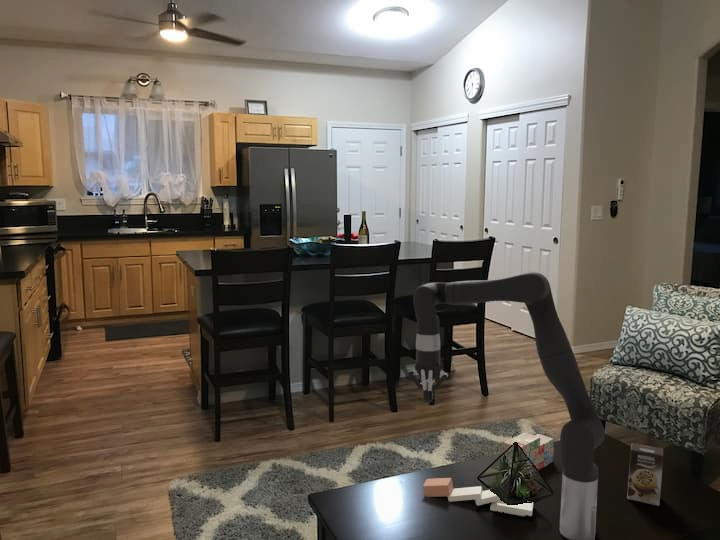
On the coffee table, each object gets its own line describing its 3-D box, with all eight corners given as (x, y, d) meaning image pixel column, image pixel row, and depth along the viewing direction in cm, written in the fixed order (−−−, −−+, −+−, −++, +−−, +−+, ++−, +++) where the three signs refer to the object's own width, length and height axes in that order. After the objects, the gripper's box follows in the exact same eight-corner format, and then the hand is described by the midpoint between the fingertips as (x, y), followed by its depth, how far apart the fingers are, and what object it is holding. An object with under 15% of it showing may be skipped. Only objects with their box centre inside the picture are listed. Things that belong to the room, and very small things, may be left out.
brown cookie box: (626, 499, 180) (629, 449, 178) (628, 490, 186) (631, 441, 184) (659, 506, 176) (663, 455, 174) (660, 497, 181) (663, 447, 179)
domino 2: (450, 493, 183) (482, 491, 180) (448, 501, 178) (481, 498, 175) (449, 489, 183) (481, 486, 180) (447, 496, 178) (480, 493, 175)
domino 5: (498, 501, 177) (533, 507, 174) (496, 509, 173) (531, 516, 169) (499, 496, 177) (533, 502, 174) (496, 504, 172) (532, 510, 169)
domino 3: (474, 498, 180) (505, 490, 180) (477, 505, 175) (509, 497, 175) (472, 493, 180) (504, 485, 180) (475, 500, 175) (508, 492, 175)
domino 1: (429, 489, 185) (453, 488, 182) (425, 496, 181) (449, 496, 178) (427, 478, 185) (451, 477, 182) (422, 486, 181) (447, 485, 178)
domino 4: (492, 505, 178) (525, 511, 175) (489, 513, 173) (524, 519, 170) (492, 500, 178) (526, 506, 175) (490, 508, 173) (525, 514, 170)
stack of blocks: (537, 458, 209) (538, 425, 207) (553, 464, 204) (554, 430, 203) (502, 476, 195) (503, 441, 193) (518, 483, 190) (519, 447, 188)
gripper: (451, 346, 183) (451, 399, 185) (411, 343, 188) (411, 395, 189) (446, 351, 176) (446, 407, 178) (404, 348, 181) (404, 402, 183)
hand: (428, 401), depth 184 cm, fingers closed
